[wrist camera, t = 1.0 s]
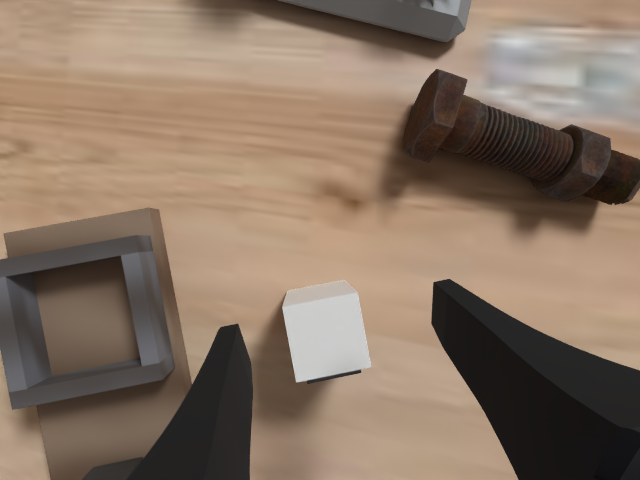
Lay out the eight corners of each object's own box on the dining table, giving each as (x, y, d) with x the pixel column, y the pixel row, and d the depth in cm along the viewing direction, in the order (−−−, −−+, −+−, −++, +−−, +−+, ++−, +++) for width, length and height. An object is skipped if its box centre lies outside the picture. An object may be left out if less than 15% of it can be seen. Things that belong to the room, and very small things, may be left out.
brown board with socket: (218, 527, 24) (187, 634, 18) (84, 557, 24) (2, 678, 17) (158, 209, 24) (104, 198, 17) (22, 233, 23) (-85, 231, 17)
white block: (355, 343, 25) (373, 376, 19) (299, 354, 24) (298, 392, 18) (344, 279, 24) (357, 292, 18) (287, 290, 24) (282, 306, 18)
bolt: (579, 200, 27) (397, 138, 26) (625, 137, 25) (428, 66, 24) (631, 236, 22) (409, 161, 21) (696, 161, 20) (449, 72, 19)
